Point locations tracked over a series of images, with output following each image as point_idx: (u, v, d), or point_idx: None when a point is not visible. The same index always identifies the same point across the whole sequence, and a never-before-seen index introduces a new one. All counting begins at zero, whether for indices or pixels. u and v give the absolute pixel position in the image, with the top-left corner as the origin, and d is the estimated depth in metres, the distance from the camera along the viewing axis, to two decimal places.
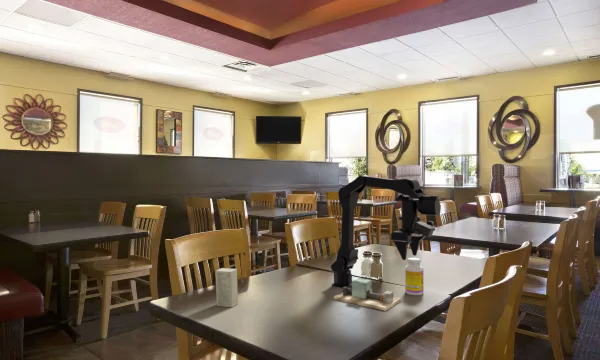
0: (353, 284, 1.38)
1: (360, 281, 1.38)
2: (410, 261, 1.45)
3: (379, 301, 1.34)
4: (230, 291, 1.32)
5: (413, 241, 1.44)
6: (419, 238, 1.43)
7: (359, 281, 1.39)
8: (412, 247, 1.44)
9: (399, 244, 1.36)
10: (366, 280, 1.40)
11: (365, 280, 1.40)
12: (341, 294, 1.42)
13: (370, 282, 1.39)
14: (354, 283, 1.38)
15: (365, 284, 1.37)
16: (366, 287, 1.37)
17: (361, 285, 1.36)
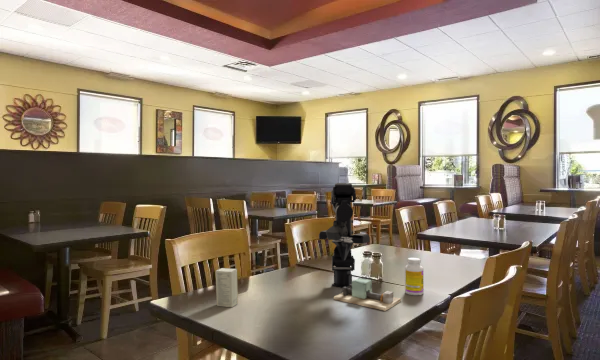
0: (353, 284, 1.38)
1: (360, 281, 1.38)
2: (410, 261, 1.45)
3: (379, 301, 1.34)
4: (230, 291, 1.32)
5: None
6: None
7: (359, 281, 1.39)
8: None
9: None
10: (366, 280, 1.40)
11: (365, 280, 1.40)
12: (341, 294, 1.42)
13: (370, 282, 1.39)
14: (354, 283, 1.38)
15: (365, 284, 1.37)
16: (366, 287, 1.37)
17: (361, 285, 1.36)
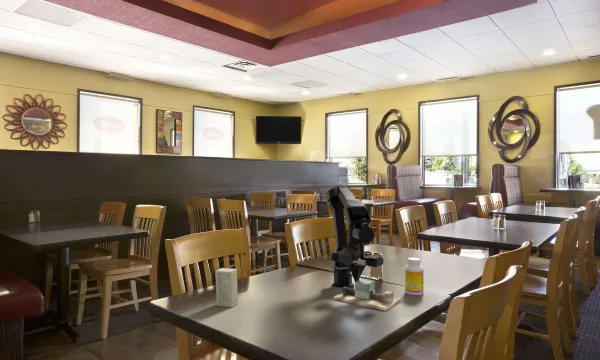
0: (356, 285, 1.38)
1: (363, 282, 1.38)
2: (410, 261, 1.45)
3: (379, 301, 1.34)
4: (230, 291, 1.32)
5: None
6: None
7: (362, 281, 1.38)
8: None
9: None
10: (369, 281, 1.39)
11: (368, 281, 1.39)
12: (341, 294, 1.42)
13: (373, 283, 1.38)
14: (357, 284, 1.37)
15: (369, 284, 1.36)
16: (369, 287, 1.36)
17: (364, 286, 1.36)
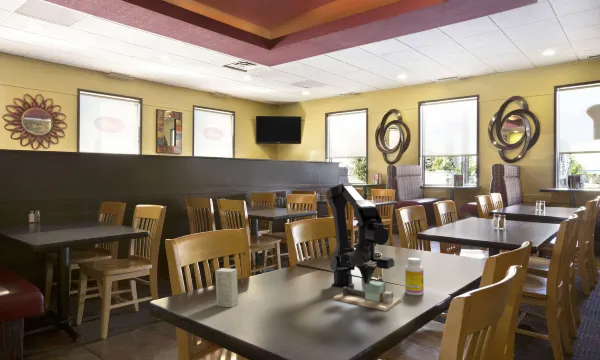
0: (366, 287, 1.35)
1: (374, 283, 1.35)
2: (410, 261, 1.45)
3: (379, 301, 1.34)
4: (230, 291, 1.32)
5: None
6: None
7: (372, 283, 1.35)
8: None
9: None
10: (380, 282, 1.36)
11: (379, 282, 1.36)
12: (341, 294, 1.42)
13: (384, 284, 1.36)
14: (367, 286, 1.35)
15: (379, 286, 1.33)
16: (380, 289, 1.34)
17: (375, 288, 1.33)
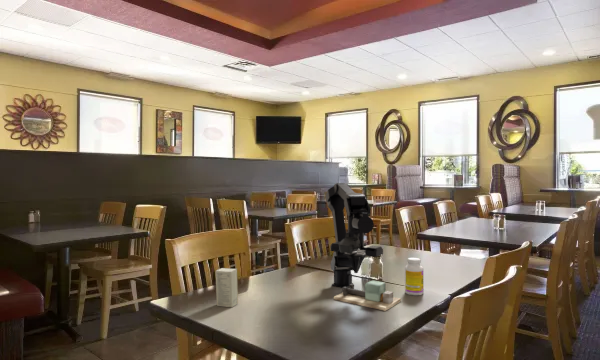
0: (366, 287, 1.35)
1: (374, 283, 1.35)
2: (410, 261, 1.45)
3: (379, 301, 1.34)
4: (230, 291, 1.32)
5: None
6: None
7: (372, 283, 1.35)
8: None
9: None
10: (380, 282, 1.36)
11: (379, 282, 1.36)
12: (341, 294, 1.42)
13: (384, 284, 1.36)
14: (367, 286, 1.35)
15: (379, 286, 1.33)
16: (380, 289, 1.34)
17: (375, 288, 1.33)
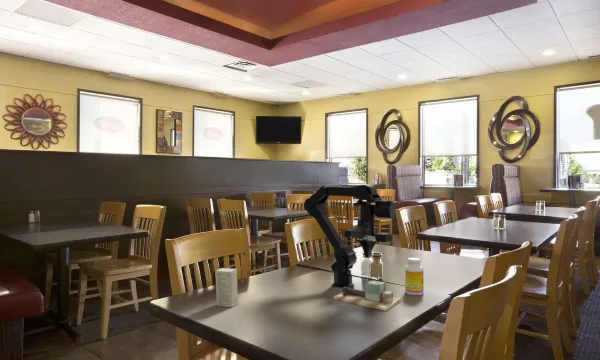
0: (366, 287, 1.35)
1: (374, 283, 1.35)
2: (410, 261, 1.45)
3: (379, 301, 1.34)
4: (230, 291, 1.32)
5: None
6: None
7: (372, 283, 1.35)
8: None
9: None
10: (380, 282, 1.36)
11: (379, 282, 1.36)
12: (341, 294, 1.42)
13: (384, 284, 1.36)
14: (367, 286, 1.35)
15: (379, 286, 1.33)
16: (380, 289, 1.34)
17: (375, 288, 1.33)
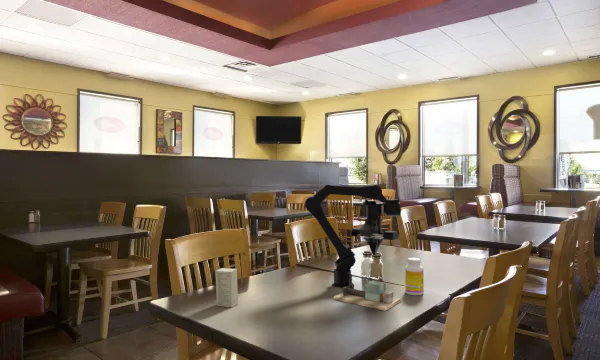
0: (366, 287, 1.35)
1: (374, 283, 1.35)
2: (410, 261, 1.45)
3: (379, 301, 1.34)
4: (230, 291, 1.32)
5: None
6: None
7: (372, 283, 1.35)
8: None
9: None
10: (380, 282, 1.36)
11: (379, 282, 1.36)
12: (341, 294, 1.42)
13: (384, 284, 1.36)
14: (367, 286, 1.35)
15: (379, 286, 1.33)
16: (380, 289, 1.34)
17: (375, 288, 1.33)
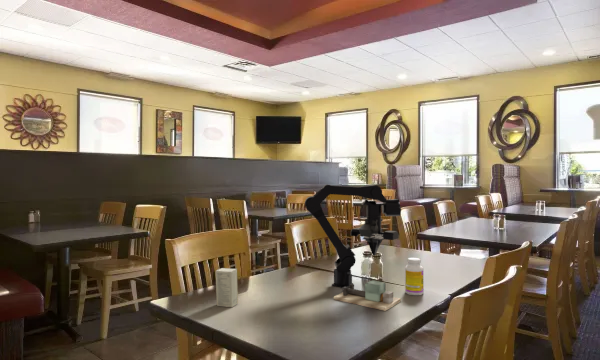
0: (366, 287, 1.35)
1: (374, 283, 1.35)
2: (410, 261, 1.45)
3: (379, 301, 1.34)
4: (230, 291, 1.32)
5: None
6: None
7: (372, 283, 1.35)
8: None
9: None
10: (380, 282, 1.36)
11: (379, 282, 1.36)
12: (341, 294, 1.42)
13: (384, 284, 1.36)
14: (367, 286, 1.35)
15: (379, 286, 1.33)
16: (380, 289, 1.34)
17: (375, 288, 1.33)
